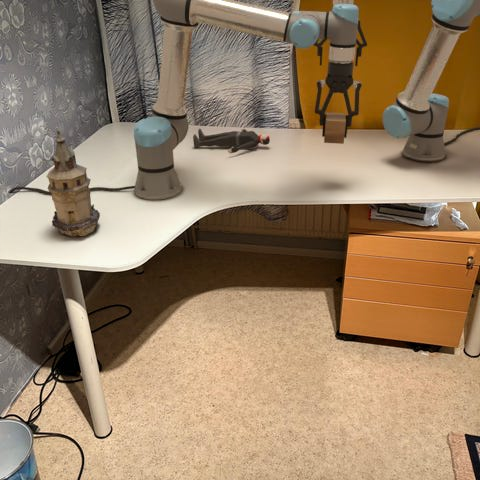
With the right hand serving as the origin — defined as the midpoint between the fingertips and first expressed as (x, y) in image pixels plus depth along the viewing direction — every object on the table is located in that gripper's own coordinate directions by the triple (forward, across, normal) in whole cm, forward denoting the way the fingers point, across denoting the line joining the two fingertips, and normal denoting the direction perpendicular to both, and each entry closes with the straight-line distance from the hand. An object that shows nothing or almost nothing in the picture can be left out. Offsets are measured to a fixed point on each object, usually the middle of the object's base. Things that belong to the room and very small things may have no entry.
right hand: (338, 65), depth 208 cm
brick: (+13, 0, +50) cm, 51 cm away
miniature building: (+29, +72, +90) cm, 119 cm away
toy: (+29, +40, +15) cm, 52 cm away
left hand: (+12, 0, +50) cm, 51 cm away
